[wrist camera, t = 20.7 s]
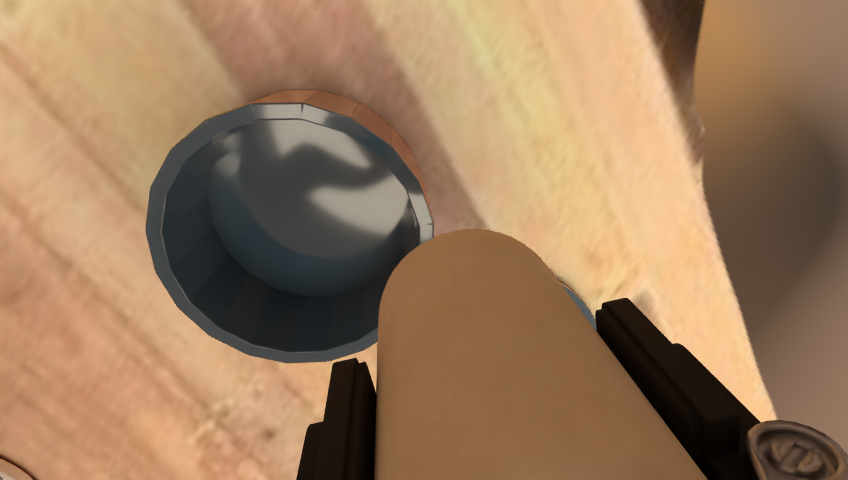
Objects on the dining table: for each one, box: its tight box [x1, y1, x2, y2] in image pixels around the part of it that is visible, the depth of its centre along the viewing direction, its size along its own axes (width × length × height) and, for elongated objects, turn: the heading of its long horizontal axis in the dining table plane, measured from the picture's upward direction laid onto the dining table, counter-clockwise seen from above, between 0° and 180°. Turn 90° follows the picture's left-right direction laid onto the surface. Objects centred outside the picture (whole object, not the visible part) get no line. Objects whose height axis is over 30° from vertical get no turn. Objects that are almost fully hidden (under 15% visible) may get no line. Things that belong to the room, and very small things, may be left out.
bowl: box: [146, 90, 434, 363], centre depth 28 cm, size 15×15×7 cm
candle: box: [374, 229, 707, 480], centre depth 10 cm, size 6×6×10 cm
